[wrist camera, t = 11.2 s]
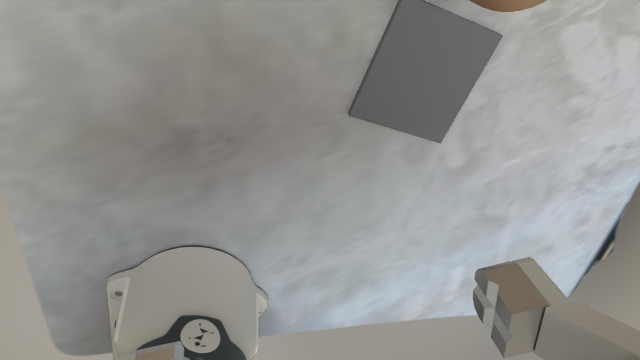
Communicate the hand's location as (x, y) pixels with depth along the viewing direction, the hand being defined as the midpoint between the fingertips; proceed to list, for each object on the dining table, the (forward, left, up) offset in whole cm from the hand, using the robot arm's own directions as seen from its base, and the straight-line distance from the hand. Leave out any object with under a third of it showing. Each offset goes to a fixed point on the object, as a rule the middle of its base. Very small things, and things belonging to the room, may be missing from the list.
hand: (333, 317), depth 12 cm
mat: (+1, -16, -31) cm, 35 cm away
